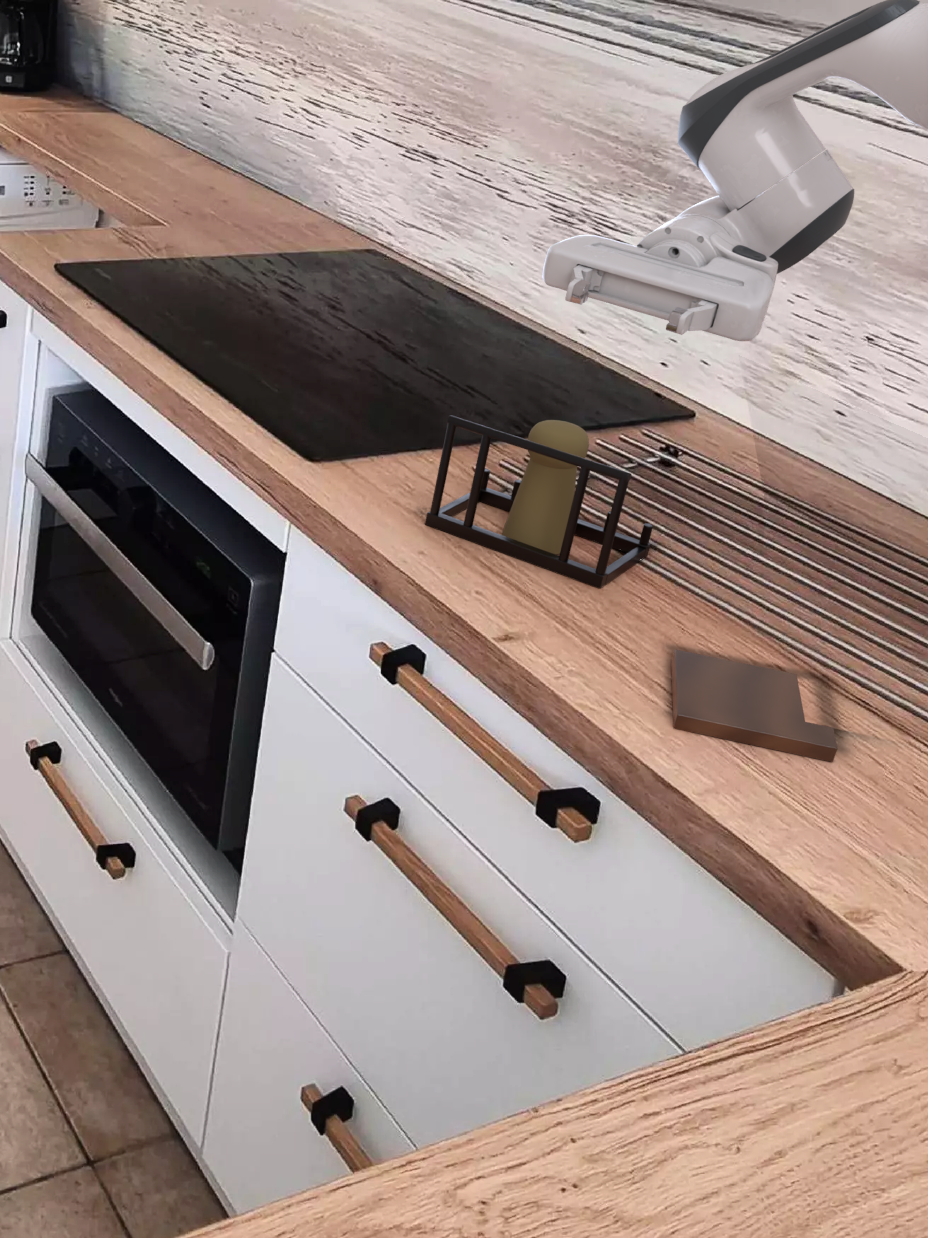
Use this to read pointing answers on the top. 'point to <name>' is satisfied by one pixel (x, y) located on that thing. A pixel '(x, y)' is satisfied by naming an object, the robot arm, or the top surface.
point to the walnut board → (745, 706)
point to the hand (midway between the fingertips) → (623, 309)
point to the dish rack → (481, 493)
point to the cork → (547, 488)
